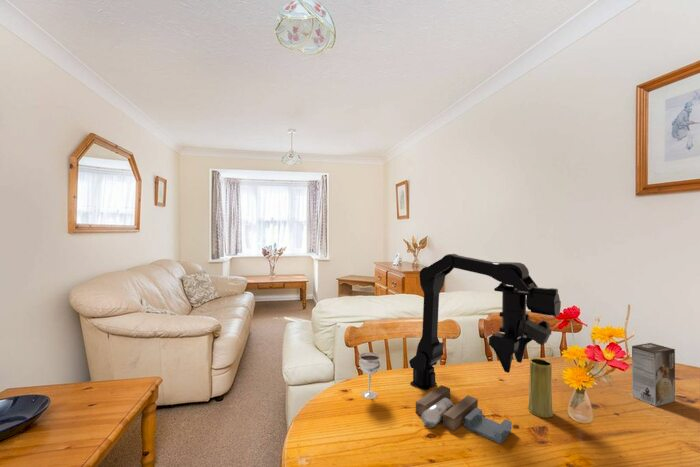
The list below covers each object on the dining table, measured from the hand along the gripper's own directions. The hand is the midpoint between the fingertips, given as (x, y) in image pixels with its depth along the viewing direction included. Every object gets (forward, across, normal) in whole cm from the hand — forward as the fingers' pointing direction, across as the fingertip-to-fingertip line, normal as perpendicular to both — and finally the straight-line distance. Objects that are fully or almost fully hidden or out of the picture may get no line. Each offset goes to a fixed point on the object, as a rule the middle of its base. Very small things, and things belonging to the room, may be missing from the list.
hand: (513, 367), depth 86 cm
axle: (+13, -14, +14) cm, 24 cm away
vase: (+15, +10, -4) cm, 18 cm away
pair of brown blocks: (+15, -9, +15) cm, 23 cm away
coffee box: (+15, +43, -26) cm, 52 cm away
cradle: (+14, -9, +3) cm, 17 cm away
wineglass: (+15, -18, +36) cm, 43 cm away
